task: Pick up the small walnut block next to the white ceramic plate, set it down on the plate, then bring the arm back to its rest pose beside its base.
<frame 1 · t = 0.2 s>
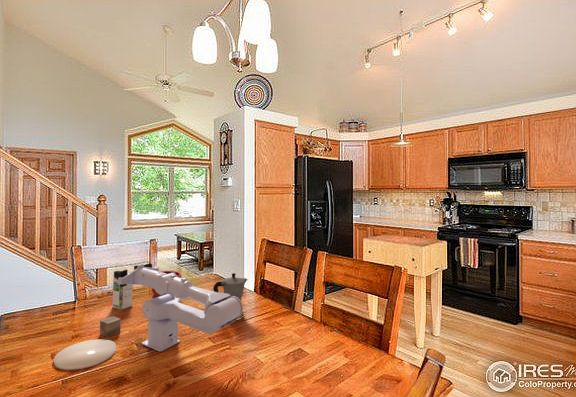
hand: (125, 271, 113), 21 cm above the table, tool horizontal, fingers open, 7 cm apart
plant pot: (165, 300, 144), on the table
walnut block: (110, 333, 110), on the table
coffeepot: (230, 318, 126), on the table
syrup box: (122, 307, 135), on the table
white plate: (86, 354, 95), on the table
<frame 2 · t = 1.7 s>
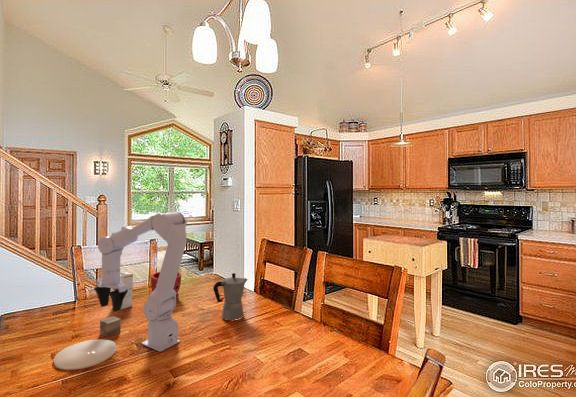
hand: (110, 308, 110), 9 cm above the table, tool pointing down, fingers open, 7 cm apart
nothing on the table moved.
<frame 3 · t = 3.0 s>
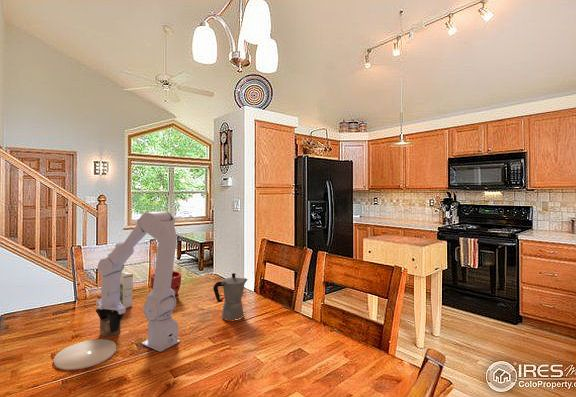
hand: (110, 329, 110), 1 cm above the table, tool pointing down, fingers closed on walnut block, 5 cm apart
walnut block: (110, 333, 110), on the table, touching gripper
everything else where it was.
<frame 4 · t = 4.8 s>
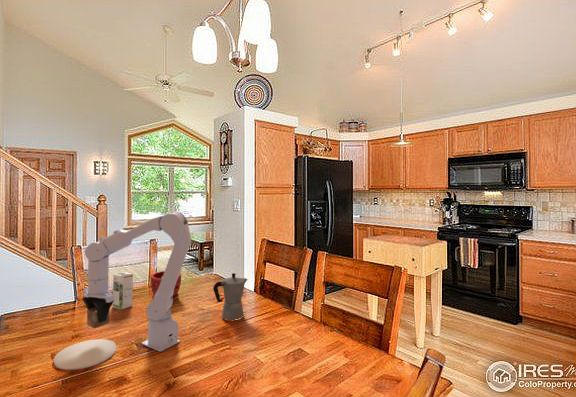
hand: (97, 319, 102), 8 cm above the table, tool pointing down, fingers closed on walnut block, 5 cm apart
walnut block: (98, 324, 102), point 7 cm above the table, touching gripper
everything else where it was.
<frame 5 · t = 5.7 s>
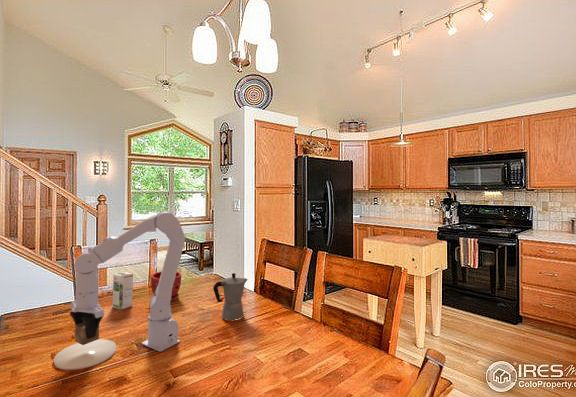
hand: (86, 335, 95), 6 cm above the table, tool pointing down, fingers closed on walnut block, 5 cm apart
walnut block: (86, 340, 95), point 5 cm above the table, touching gripper
everything else where it was.
when the fingers open (3 cm above the table, at t = 6.6 s): walnut block stays where it is, resting on white plate.
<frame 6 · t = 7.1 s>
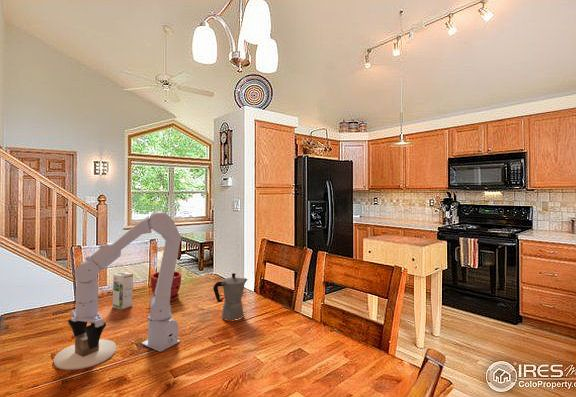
hand: (86, 344, 95), 3 cm above the table, tool pointing down, fingers open, 7 cm apart
walnut block: (86, 351, 96), point 1 cm above the table, touching white plate
everything else where it was.
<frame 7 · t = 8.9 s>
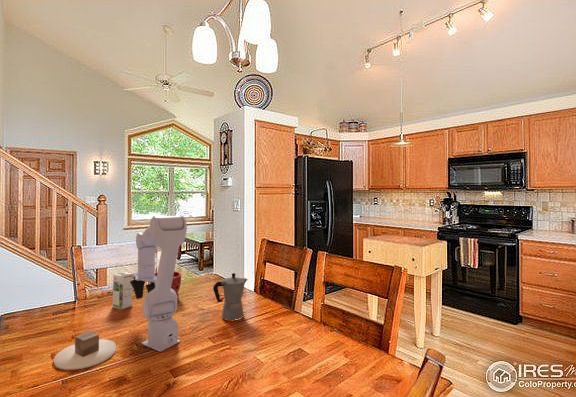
hand: (145, 300, 117), 9 cm above the table, tool pointing down, fingers open, 7 cm apart
nothing on the table moved.
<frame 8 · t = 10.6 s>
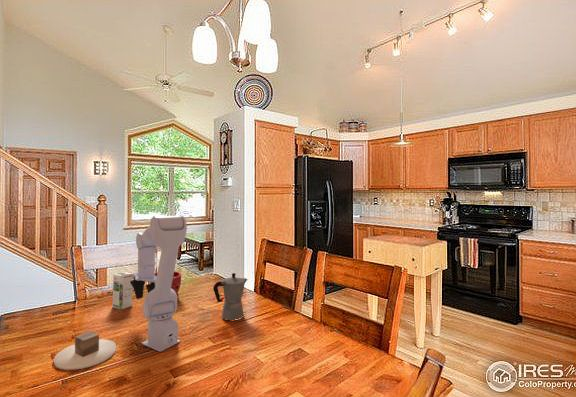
hand: (145, 300, 117), 9 cm above the table, tool pointing down, fingers open, 7 cm apart
nothing on the table moved.
at the end: walnut block inside the target area on the white plate (0.1 cm from its centre), point 1.0 cm above the white plate's base; walnut block tilted 0°; the gripper is holding nothing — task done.
